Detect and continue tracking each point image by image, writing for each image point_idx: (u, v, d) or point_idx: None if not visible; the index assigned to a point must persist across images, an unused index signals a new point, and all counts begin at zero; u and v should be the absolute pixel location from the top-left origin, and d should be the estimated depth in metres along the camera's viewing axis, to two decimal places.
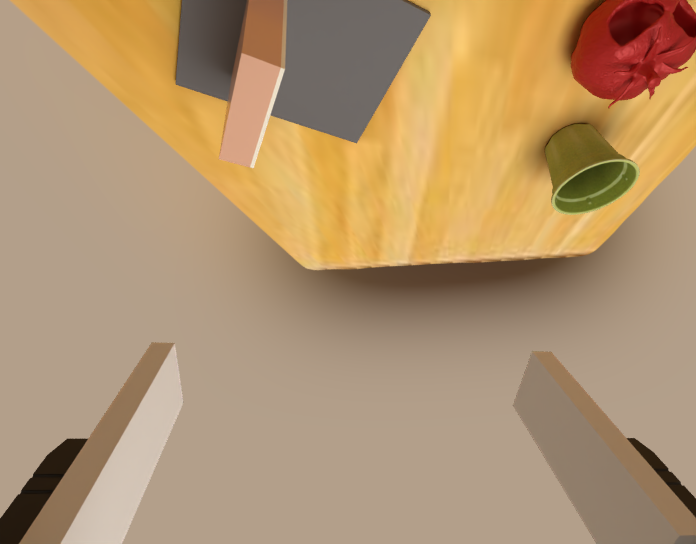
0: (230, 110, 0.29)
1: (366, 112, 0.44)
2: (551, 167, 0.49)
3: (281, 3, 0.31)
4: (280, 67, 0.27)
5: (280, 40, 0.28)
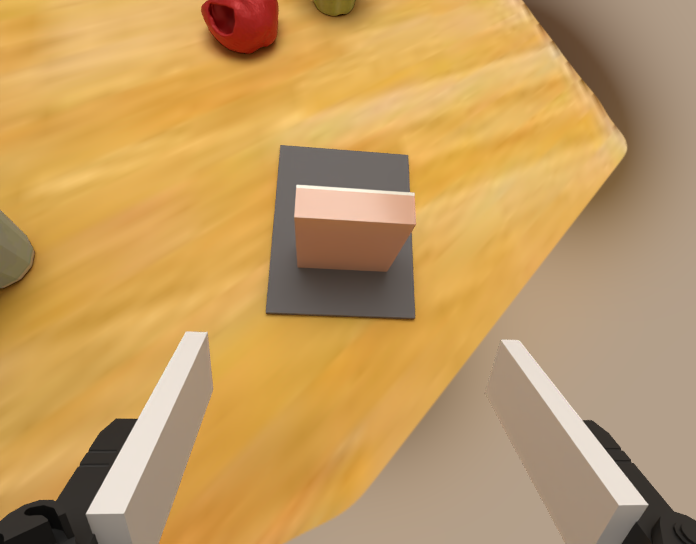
0: (352, 219, 0.31)
1: (373, 158, 0.48)
2: None
3: None
4: (296, 188, 0.32)
5: None
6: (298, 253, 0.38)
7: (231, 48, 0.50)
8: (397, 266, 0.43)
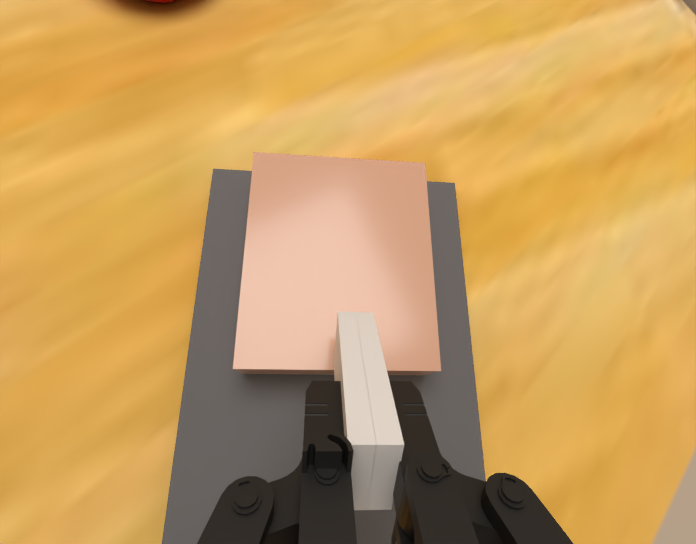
0: (336, 158, 0.22)
1: None
2: None
3: None
4: None
5: None
6: (245, 286, 0.19)
7: None
8: (447, 421, 0.21)
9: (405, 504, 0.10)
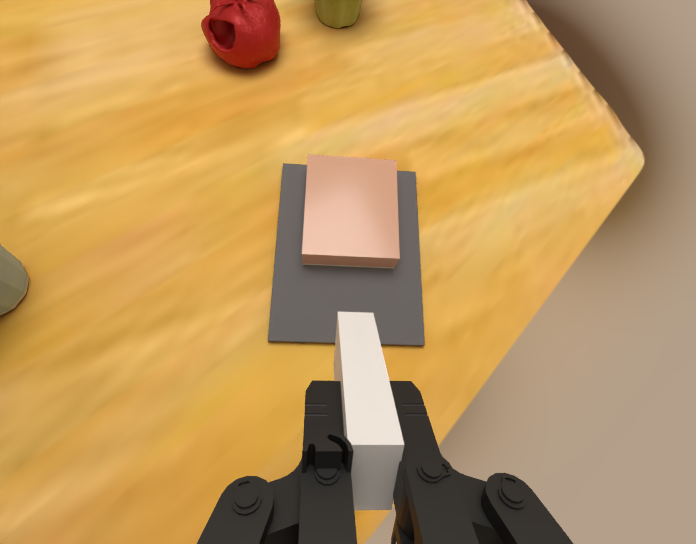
0: (350, 157, 0.43)
1: None
2: (353, 1, 0.51)
3: None
4: None
5: None
6: (306, 218, 0.40)
7: (232, 63, 0.49)
8: (405, 290, 0.41)
9: (405, 504, 0.10)
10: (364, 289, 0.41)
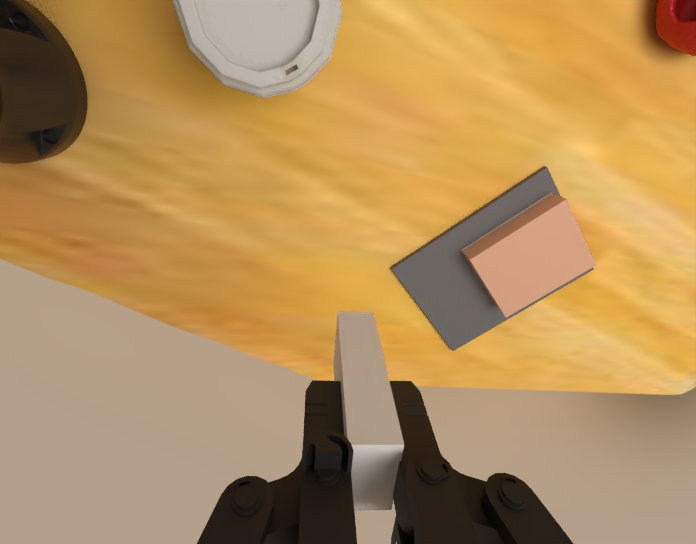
0: (580, 231, 0.43)
1: None
2: None
3: (485, 236, 0.46)
4: (552, 193, 0.44)
5: (526, 210, 0.45)
6: (501, 241, 0.43)
7: (656, 16, 0.36)
8: (483, 321, 0.52)
9: (405, 504, 0.10)
10: (468, 298, 0.50)
